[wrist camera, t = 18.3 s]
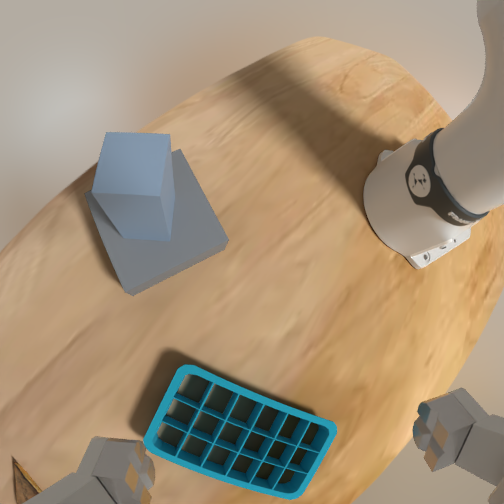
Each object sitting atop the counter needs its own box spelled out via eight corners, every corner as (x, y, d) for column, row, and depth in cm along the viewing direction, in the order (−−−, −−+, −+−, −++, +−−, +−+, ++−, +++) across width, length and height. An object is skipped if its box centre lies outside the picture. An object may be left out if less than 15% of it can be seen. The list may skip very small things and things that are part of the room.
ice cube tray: (290, 491, 33) (297, 501, 30) (142, 438, 31) (139, 447, 29) (331, 418, 36) (341, 424, 33) (183, 356, 35) (182, 359, 32)
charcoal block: (180, 168, 40) (180, 148, 35) (223, 250, 38) (228, 239, 34) (95, 208, 36) (84, 193, 32) (133, 296, 35) (125, 292, 30)
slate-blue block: (175, 196, 33) (169, 134, 22) (170, 241, 32) (160, 196, 21) (130, 193, 33) (106, 132, 21) (123, 238, 31) (91, 192, 20)
